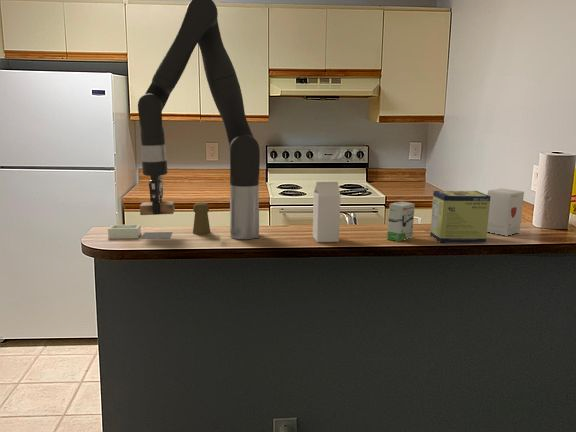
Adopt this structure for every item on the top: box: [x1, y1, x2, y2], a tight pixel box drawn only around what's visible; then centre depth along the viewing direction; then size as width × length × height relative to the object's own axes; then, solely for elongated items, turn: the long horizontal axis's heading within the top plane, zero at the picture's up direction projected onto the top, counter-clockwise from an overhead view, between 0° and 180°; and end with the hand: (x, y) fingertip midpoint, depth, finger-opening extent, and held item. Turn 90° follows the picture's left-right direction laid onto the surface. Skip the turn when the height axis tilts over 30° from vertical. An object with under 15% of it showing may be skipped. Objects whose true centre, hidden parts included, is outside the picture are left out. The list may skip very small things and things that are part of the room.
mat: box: [140, 231, 173, 240], centre depth 168 cm, size 9×9×1 cm
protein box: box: [429, 190, 491, 243], centre depth 172 cm, size 10×16×16 cm
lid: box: [139, 200, 176, 216], centre depth 166 cm, size 10×6×3 cm, turn 97°
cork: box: [192, 201, 211, 236], centre depth 172 cm, size 6×6×11 cm
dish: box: [107, 224, 142, 239], centre depth 167 cm, size 9×6×4 cm, turn 97°
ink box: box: [386, 200, 416, 242], centre depth 172 cm, size 9×5×12 cm, turn 137°
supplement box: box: [487, 188, 525, 237], centre depth 182 cm, size 9×9×15 cm
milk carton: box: [312, 181, 342, 243], centre depth 168 cm, size 7×7×19 cm
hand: (157, 212), depth 166 cm, fingers closed on lid, 6 cm apart
